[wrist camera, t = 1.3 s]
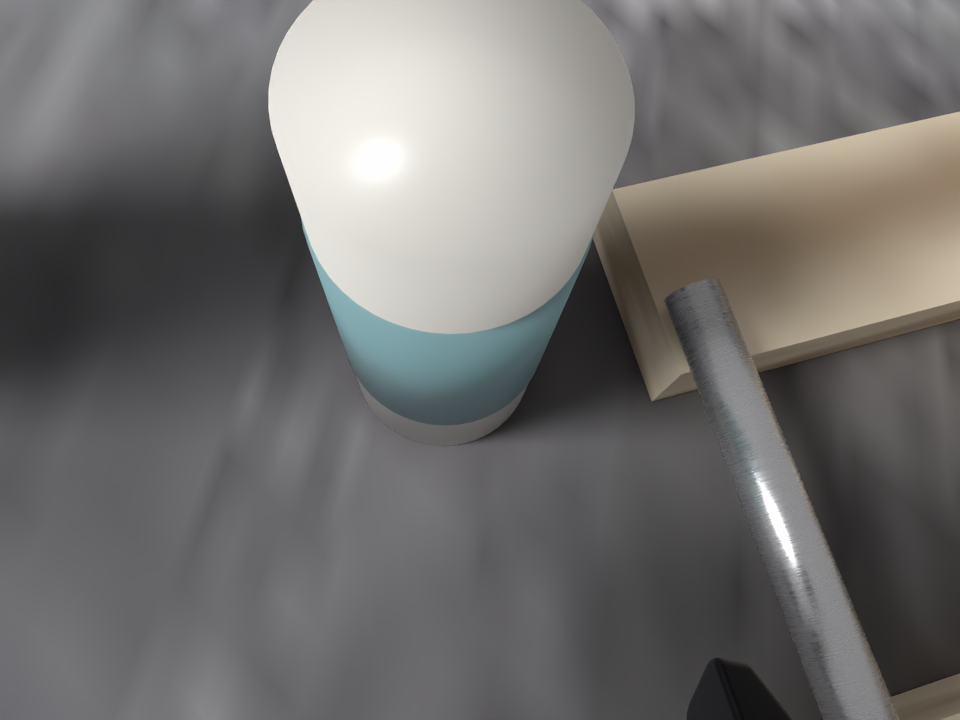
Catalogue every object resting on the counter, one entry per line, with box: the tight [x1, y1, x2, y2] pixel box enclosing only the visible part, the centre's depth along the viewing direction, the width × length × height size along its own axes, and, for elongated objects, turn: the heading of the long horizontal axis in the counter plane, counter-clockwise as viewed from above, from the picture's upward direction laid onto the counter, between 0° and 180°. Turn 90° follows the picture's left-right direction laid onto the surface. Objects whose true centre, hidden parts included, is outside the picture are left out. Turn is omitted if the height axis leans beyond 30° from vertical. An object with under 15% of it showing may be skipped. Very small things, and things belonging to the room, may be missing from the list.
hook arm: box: [664, 278, 900, 720], centre depth 19 cm, size 14×2×2 cm, turn 16°
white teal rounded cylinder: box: [268, 0, 635, 446], centre depth 17 cm, size 6×6×13 cm
